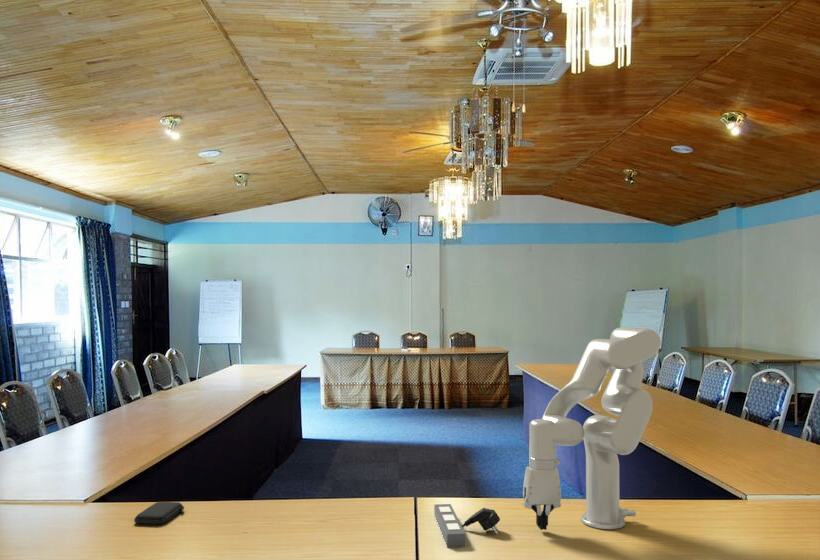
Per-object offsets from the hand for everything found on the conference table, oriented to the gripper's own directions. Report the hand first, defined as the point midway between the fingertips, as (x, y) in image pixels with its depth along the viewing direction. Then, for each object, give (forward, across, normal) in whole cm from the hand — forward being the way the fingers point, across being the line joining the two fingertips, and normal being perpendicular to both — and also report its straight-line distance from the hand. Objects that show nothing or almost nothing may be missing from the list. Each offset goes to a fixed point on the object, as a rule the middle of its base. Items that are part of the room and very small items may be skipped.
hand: (542, 528), depth 176 cm
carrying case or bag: (+3, +112, -23) cm, 114 cm away
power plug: (+2, +18, -3) cm, 18 cm away
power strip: (+2, +26, -4) cm, 27 cm away
